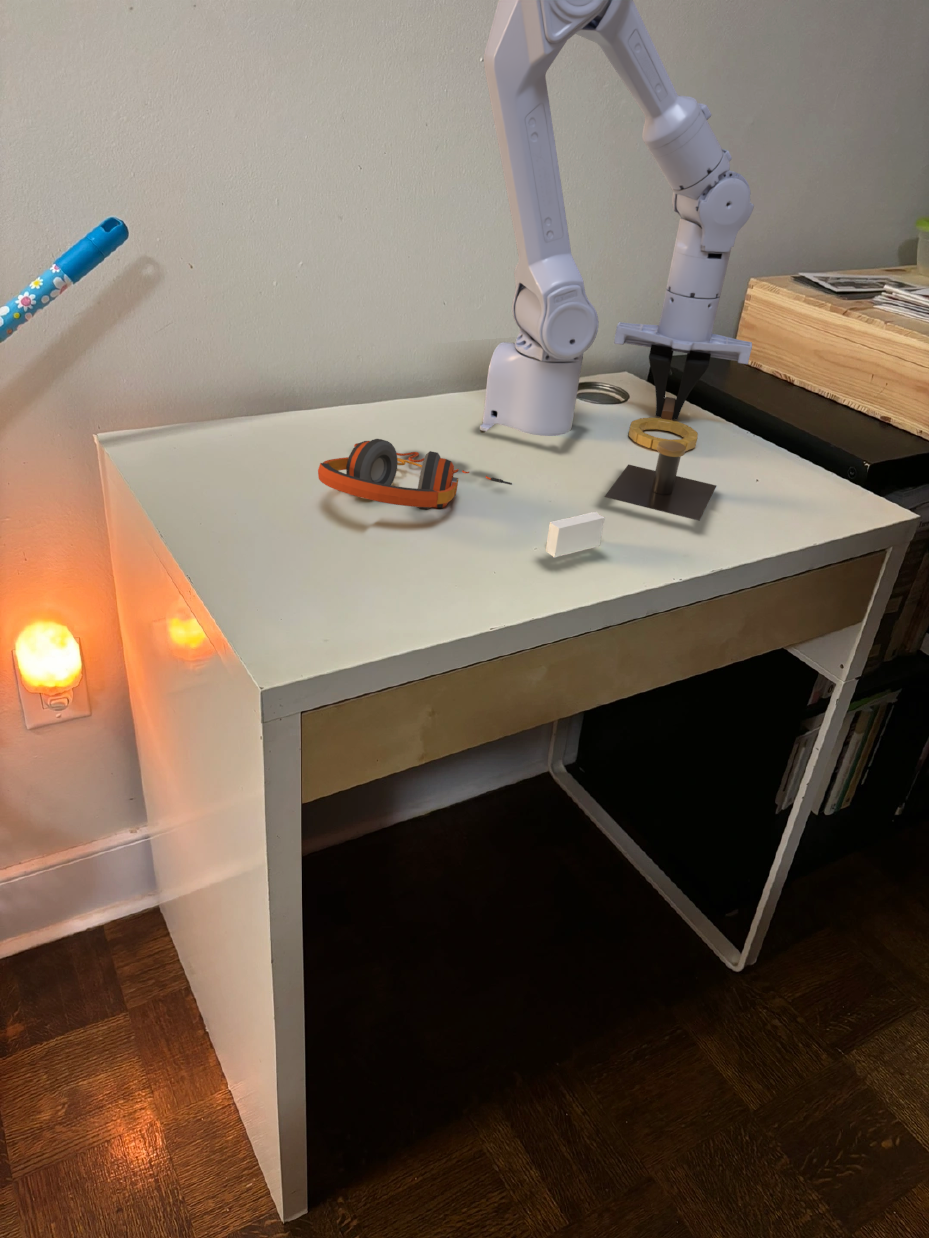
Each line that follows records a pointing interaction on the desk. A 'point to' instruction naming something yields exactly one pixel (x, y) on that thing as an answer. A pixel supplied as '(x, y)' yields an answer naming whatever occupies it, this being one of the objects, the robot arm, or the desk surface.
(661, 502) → the stand
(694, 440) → the ring
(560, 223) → the robot arm
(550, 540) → the eraser
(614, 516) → the desk surface
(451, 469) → the headphones
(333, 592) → the desk surface
